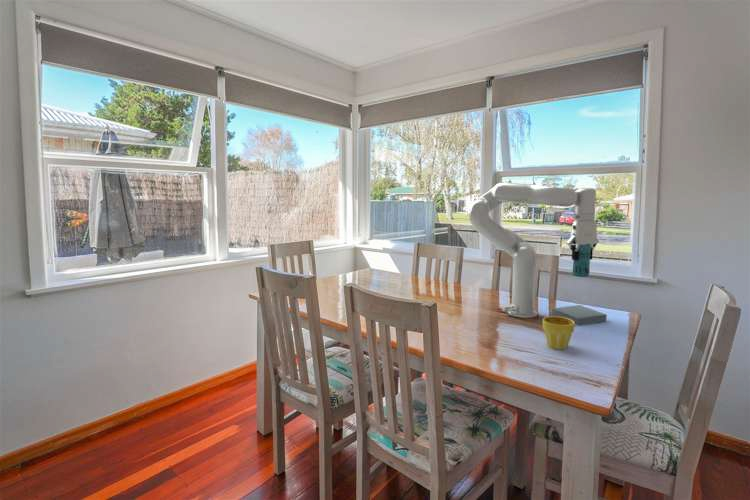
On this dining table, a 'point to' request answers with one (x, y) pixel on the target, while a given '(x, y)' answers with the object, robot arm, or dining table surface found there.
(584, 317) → the stand
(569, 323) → the plant pot
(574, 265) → the beverage bottle
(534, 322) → the dining table surface
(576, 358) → the dining table surface
